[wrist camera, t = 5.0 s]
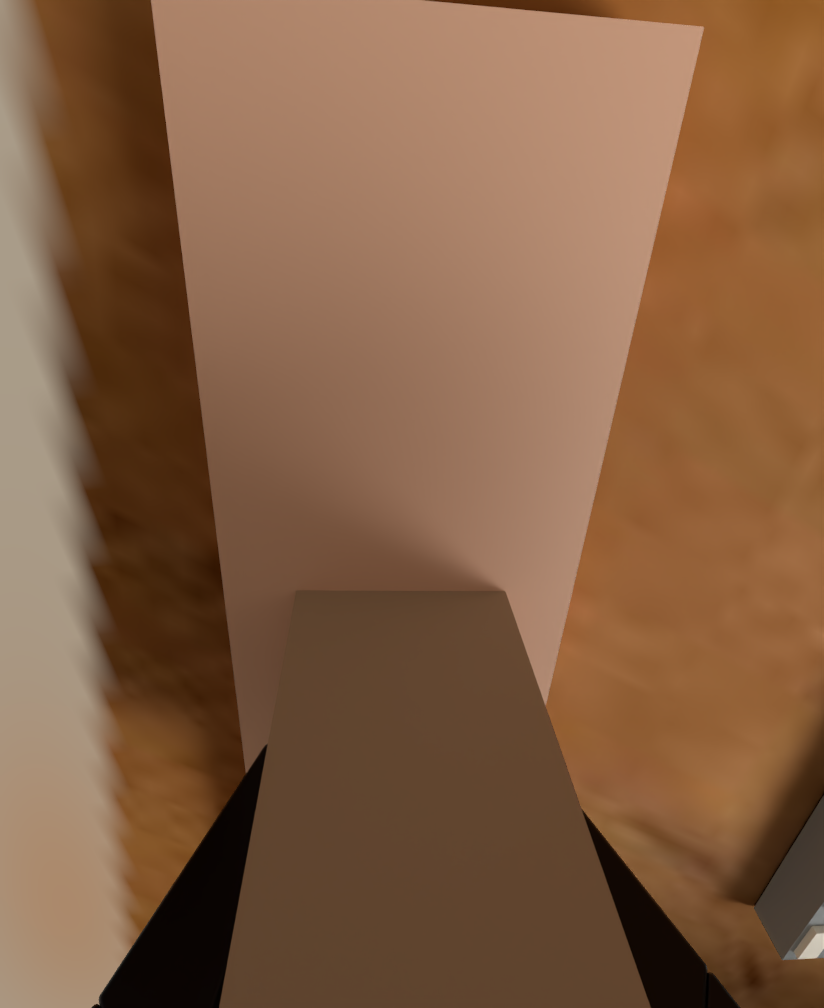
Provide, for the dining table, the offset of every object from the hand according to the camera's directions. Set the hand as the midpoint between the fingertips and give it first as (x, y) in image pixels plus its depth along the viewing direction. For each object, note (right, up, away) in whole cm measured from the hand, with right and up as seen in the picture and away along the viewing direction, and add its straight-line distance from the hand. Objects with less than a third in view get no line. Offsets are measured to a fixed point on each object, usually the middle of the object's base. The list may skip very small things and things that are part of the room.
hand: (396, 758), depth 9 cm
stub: (0, +1, +2) cm, 2 cm away
